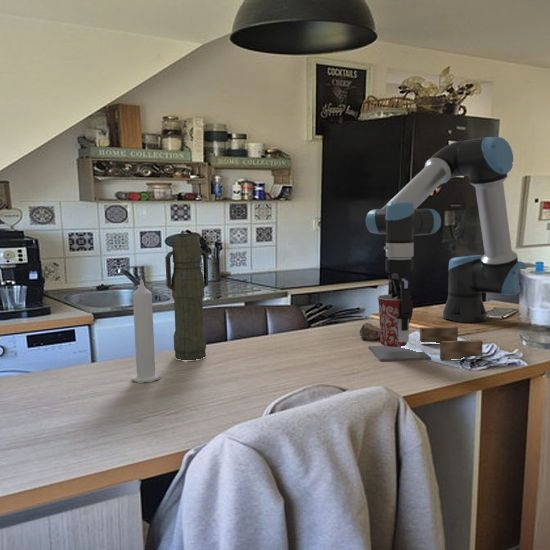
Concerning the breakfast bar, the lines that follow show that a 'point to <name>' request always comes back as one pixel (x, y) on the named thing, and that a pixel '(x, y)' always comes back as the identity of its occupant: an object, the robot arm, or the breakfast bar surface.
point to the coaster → (397, 353)
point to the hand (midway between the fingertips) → (398, 337)
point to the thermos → (188, 295)
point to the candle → (144, 336)
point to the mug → (390, 320)
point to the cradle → (451, 342)
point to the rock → (370, 332)
